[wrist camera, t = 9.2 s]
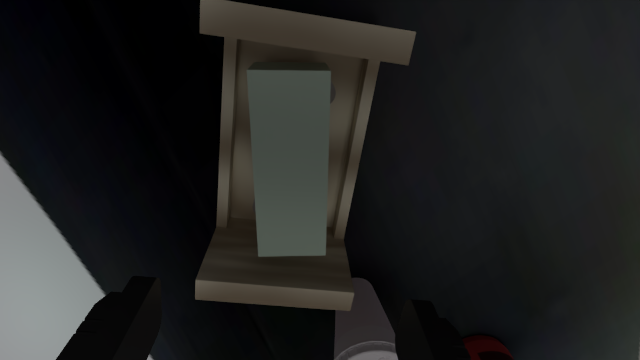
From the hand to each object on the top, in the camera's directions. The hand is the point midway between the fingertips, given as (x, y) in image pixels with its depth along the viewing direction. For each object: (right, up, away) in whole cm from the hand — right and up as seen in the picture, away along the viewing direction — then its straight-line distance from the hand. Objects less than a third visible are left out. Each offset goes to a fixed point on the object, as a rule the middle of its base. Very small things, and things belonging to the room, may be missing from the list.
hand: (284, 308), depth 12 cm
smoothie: (+5, -7, +24) cm, 26 cm away
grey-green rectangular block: (-1, +6, +14) cm, 15 cm away
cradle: (-1, +8, +17) cm, 19 cm away
